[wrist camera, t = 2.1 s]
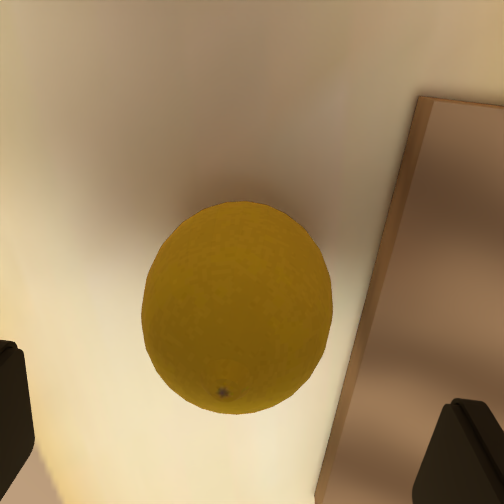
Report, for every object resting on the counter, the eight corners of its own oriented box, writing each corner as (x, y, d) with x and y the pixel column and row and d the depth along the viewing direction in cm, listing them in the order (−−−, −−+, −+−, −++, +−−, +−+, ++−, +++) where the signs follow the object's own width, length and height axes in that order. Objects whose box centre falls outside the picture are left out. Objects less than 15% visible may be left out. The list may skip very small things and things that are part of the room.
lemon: (184, 160, 15) (101, 258, 8) (336, 189, 15) (387, 310, 8) (170, 291, 18) (95, 458, 10) (301, 315, 18) (318, 495, 11)
